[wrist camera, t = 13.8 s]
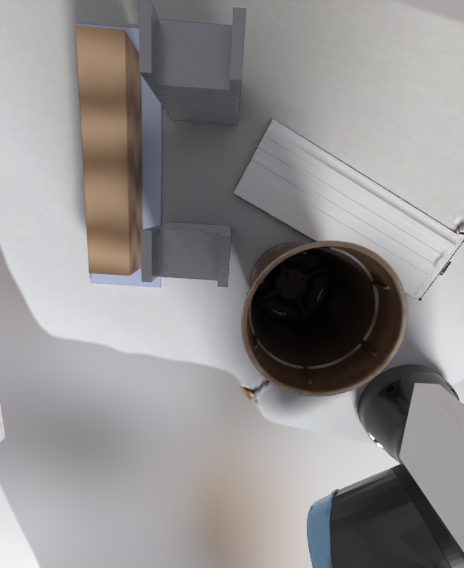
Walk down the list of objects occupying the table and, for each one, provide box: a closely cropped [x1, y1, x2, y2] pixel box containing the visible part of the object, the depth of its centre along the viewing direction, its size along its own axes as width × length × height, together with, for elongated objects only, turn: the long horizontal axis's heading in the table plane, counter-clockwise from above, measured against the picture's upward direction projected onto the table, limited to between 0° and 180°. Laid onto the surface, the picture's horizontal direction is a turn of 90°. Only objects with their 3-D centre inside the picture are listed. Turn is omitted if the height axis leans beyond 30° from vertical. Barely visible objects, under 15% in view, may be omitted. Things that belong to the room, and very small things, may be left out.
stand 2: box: [141, 222, 231, 287], centre depth 36 cm, size 5×8×14 cm, turn 86°
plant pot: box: [242, 240, 408, 397], centre depth 37 cm, size 16×16×16 cm
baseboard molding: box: [234, 119, 464, 301], centre depth 41 cm, size 31×3×12 cm
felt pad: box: [77, 23, 162, 287], centre depth 40 cm, size 32×10×1 cm, turn 176°
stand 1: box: [139, 0, 246, 125], centre depth 31 cm, size 5×8×14 cm, turn 86°
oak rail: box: [76, 26, 143, 276], centre depth 37 cm, size 26×5×6 cm, turn 176°
